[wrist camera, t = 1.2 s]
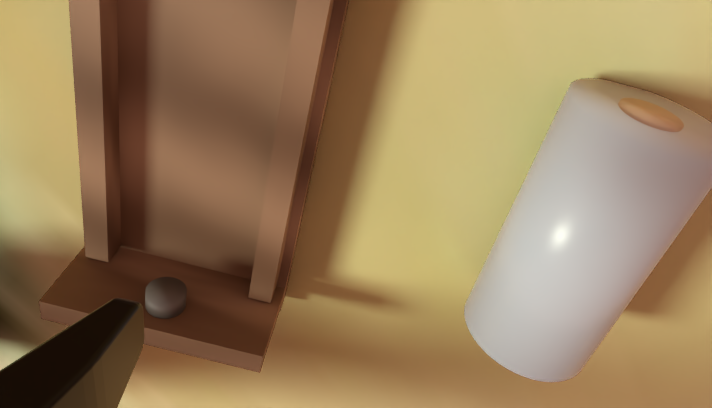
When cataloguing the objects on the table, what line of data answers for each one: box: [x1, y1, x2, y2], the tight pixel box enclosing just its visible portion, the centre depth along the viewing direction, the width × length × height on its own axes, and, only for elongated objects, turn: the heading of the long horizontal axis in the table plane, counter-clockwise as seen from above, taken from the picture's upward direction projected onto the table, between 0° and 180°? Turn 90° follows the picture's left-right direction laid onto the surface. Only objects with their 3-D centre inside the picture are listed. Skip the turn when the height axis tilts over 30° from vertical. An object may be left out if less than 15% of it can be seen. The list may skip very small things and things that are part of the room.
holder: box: [39, 0, 349, 372], centre depth 20 cm, size 18×9×5 cm, turn 167°
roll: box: [464, 78, 712, 382], centre depth 20 cm, size 10×5×5 cm, turn 167°
